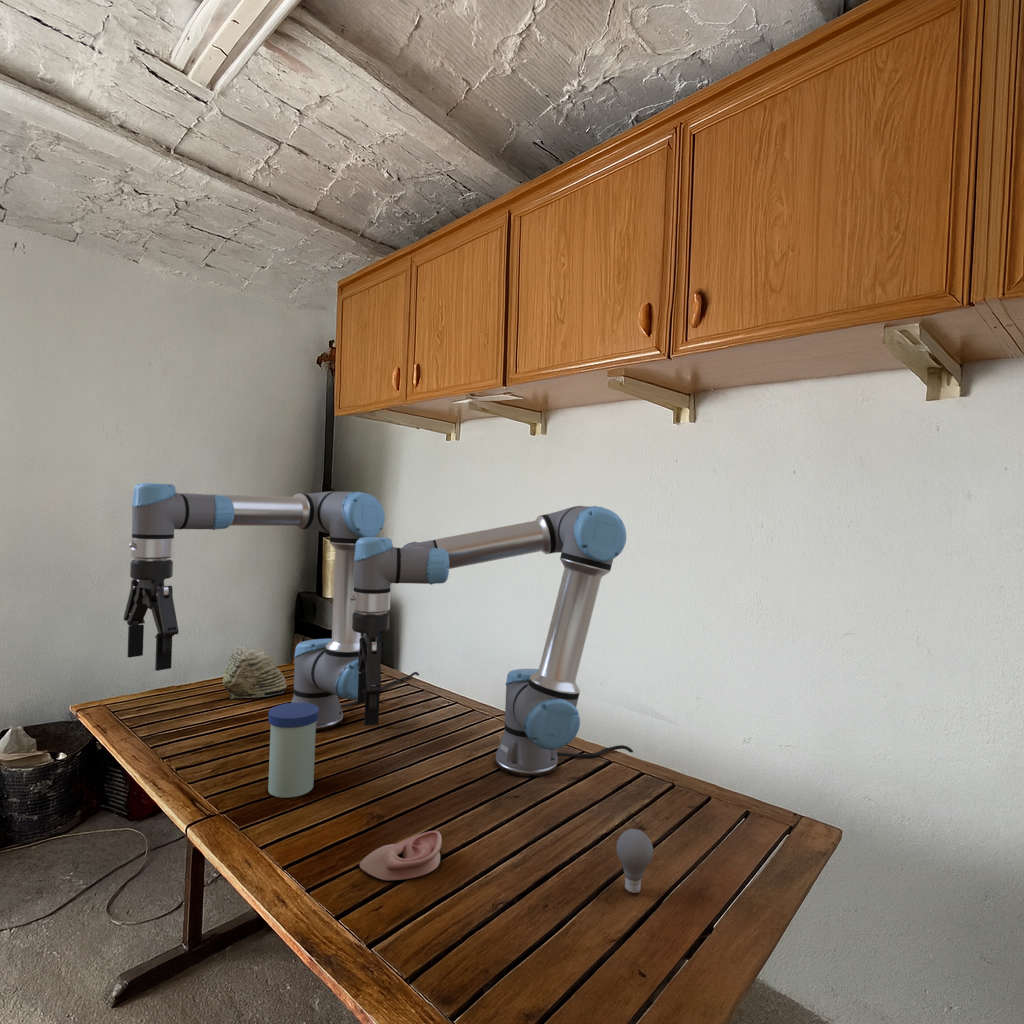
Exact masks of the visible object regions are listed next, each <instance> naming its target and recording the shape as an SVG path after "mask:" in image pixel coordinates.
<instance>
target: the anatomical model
mask: <svg viewBox="0 0 1024 1024" xmlns="http://www.w3.org/2000/svg"><path fill="white" fill-rule="evenodd" d="M442 843H443V838H442V834H441V833H440V831H438V830H429V831H426V832H422V833H418V834H416V835H414V836H411V837H410V838H407V839H404V840H403V841H400V842H397V843H390V844H386V845H382V846H380V847H378V848H375V850H373V851H371V852H370V853H369V854H367V855H366V856H364V857H363V859H362V860H361V861H360V863H359V868H360V869H361V870H362V871H363V872H365V873H367V874H368V875H370V876H372V877H374V878H376V879H378V880H381V881H389V882H390V881H401V880H409V879H413V878H418V877H421V876H424V875H427V874H430V873H431V872H433V871H435V870H436V869H437V868H438V867H439V866H440V863H441V862H440V861H441V853H440V851H441V848H442Z"/></svg>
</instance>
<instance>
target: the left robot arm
mask: <svg viewBox="0 0 1024 1024" xmlns="http://www.w3.org/2000/svg"><path fill="white" fill-rule="evenodd" d="M385 515H386V513H385V511H384V508H383V505H382V503H381V502H380V501H379V500H378V498H377V497H375V495H373V494H370V493H367V492H363V491H362V492H361V491H337V490H336V491H335V490H333V491H332V490H330V491H321V492H311V493H295V494H294V495H293V496H276V495H275V496H274V495H273V496H272V495H248V494H247V495H246V494H244V495H243V494H220V493H219V494H218V493H217V494H216V493H215V494H214V493H189V492H187V493H186V492H177V491H176V486H175V485H174V484H173V483H152V482H139V483H137V484H136V485H135V486H134V488H133V492H132V501H131V520H132V521H131V542H130V543H128V547H129V548H130V549H131V550H130V556H131V558H133V559H132V560H131V561H130V567H129V568H130V571H129V574H130V575H129V576H130V578H131V581H130V590H129V594H128V598H127V603H126V607H125V610H124V615H123V621H124V622H126V624H127V626H128V629H127V630H128V631H127V658H135V657H142V656H144V635H145V634H144V630H145V625H144V624H145V623H146V621H145V619H144V618H145V616H146V615H147V612H148V609H149V610H151V613H152V618H153V620H154V624H155V627H156V631H157V633H156V635H155V636H154V638H155V661H154V663H155V665H154V668H155V669H154V670H155V671H157V672H159V671H164V670H169V669H172V659H173V657H172V655H173V637H175V636H176V635H179V632H180V631H179V625H178V619H177V615H176V614H177V613H176V609H175V603H174V597H173V595H174V593H173V585H165V580H167V579H171V578H172V577H173V575H174V573H173V572H174V561H173V560H172V559H171V558H173V557H174V554H175V553H174V552H175V530H213V531H215V530H224V529H228V528H230V526H233V527H234V526H237V527H238V526H240V527H243V526H246V527H247V526H249V527H250V526H258V527H259V526H268V527H269V526H276V527H277V526H282V527H284V526H285V527H286V526H287V527H288V526H289V527H290V526H291V527H293V528H294V529H296V530H308V531H309V530H310V531H316V532H319V533H325V534H329V544H330V545H331V546H332V547H333V548H334V550H335V551H334V572H333V573H334V577H333V599H332V625H331V626H332V627H331V638H317V639H308V640H304V641H300V642H299V643H297V645H296V646H295V650H294V655H293V657H294V672H293V673H294V674H293V695H292V696H293V697H292V699H291V702H290V703H310V704H314V705H316V706H318V708H319V718H318V720H317V721H316V733H317V732H325V731H329V730H332V729H335V728H337V727H339V726H340V725H342V723H343V722H344V713H343V709H344V708H346V707H348V708H349V707H351V706H353V705H357V704H358V703H357V702H358V674H359V673H361V672H359V670H358V668H359V667H358V659H359V648H360V643H359V640H360V638H361V633H358V632H355V631H353V629H352V615H353V614H354V612H356V611H354V610H353V601H354V600H353V601H352V600H350V597H351V596H355V595H354V558H355V547H356V541H357V540H358V539H360V538H363V537H377V536H378V535H379V534H380V533H381V530H383V528H384V526H385V522H386V521H385V520H386V516H385ZM414 676H420V673H419V672H417V671H414V672H412V673H411V674H409V675H407V676H404V677H401V678H398V679H395V680H393V681H390V682H388V683H385V684H384V685H383V686H381V688H382V690H381V691H384V689H386V688H388V687H389V686H392V685H394V684H396V683H399V682H403V681H405V680H408V679H410V678H412V677H414ZM372 686H375V685H372ZM339 698H341V699H342V700H343V699H344V700H348V701H349V700H350V701H351V702H348V703H344V704H341V702H340V699H339ZM342 708H343V709H342Z"/></svg>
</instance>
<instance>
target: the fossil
mask: <svg viewBox="0 0 1024 1024" xmlns="http://www.w3.org/2000/svg"><path fill="white" fill-rule="evenodd" d="M222 676H223V677H222V685H223V687H224V688H225V690H226V691H228V693H229V698H230V699H250V698H264V697H271V696H275V695H281V694H284V693H285V691H286V689H287V687H288V686H287V680H286V678H285V676H284V674H283V673H282V672H281V669H279V668H278V667H277V665H276V663H275V662H274V660H273V659H272V658H271V657H270V656H269V655H268V654H267V653H266V652H265V650H264V649H263V648H260V647H258V648H251V647H247V646H246V647H245V646H238V647H237V648H236V649H235V650H233V651H232V653H231V656H230V657H229V659H228V660H227V663H226V666H225V668H224V671H223V675H222Z"/></svg>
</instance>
